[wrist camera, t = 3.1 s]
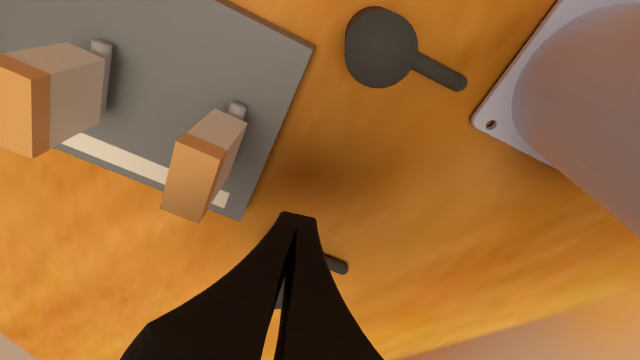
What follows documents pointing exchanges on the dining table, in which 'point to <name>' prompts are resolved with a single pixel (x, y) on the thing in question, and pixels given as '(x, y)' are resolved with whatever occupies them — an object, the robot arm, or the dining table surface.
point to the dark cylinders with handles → (385, 65)
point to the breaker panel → (171, 79)
